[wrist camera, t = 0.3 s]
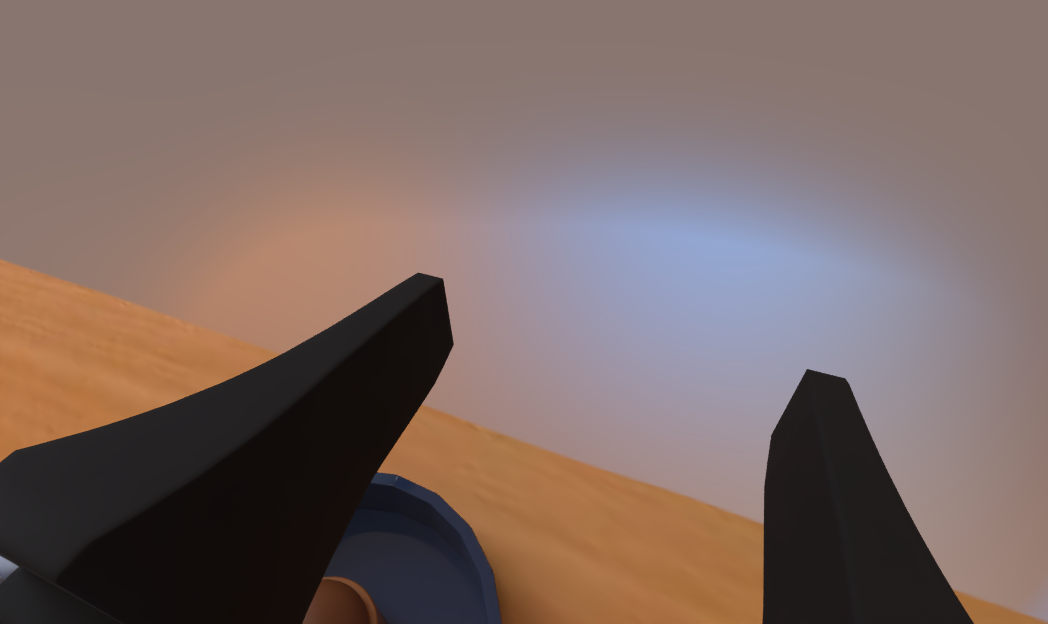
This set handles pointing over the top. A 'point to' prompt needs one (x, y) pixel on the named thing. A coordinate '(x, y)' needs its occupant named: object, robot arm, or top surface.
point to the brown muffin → (342, 604)
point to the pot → (416, 557)
